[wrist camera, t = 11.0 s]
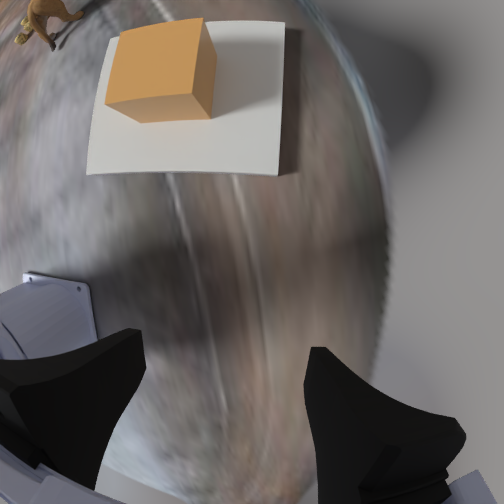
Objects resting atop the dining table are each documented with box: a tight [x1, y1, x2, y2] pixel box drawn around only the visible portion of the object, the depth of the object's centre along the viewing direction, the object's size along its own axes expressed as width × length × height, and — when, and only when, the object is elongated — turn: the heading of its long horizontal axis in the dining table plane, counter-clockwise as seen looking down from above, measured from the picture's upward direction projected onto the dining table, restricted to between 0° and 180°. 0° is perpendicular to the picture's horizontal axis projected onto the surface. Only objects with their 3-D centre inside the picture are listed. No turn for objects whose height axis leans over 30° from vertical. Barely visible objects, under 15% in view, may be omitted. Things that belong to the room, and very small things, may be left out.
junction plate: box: [86, 21, 285, 177], centre depth 15 cm, size 14×12×5 cm
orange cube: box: [104, 18, 217, 124], centre depth 13 cm, size 5×5×5 cm
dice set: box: [15, 16, 48, 45], centre depth 14 cm, size 5×5×2 cm
